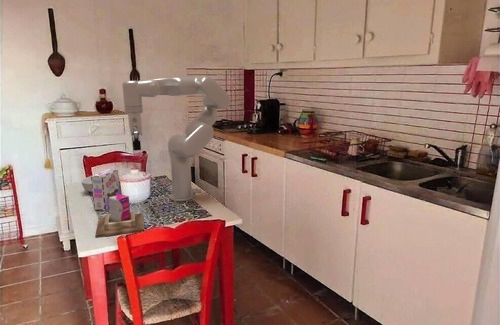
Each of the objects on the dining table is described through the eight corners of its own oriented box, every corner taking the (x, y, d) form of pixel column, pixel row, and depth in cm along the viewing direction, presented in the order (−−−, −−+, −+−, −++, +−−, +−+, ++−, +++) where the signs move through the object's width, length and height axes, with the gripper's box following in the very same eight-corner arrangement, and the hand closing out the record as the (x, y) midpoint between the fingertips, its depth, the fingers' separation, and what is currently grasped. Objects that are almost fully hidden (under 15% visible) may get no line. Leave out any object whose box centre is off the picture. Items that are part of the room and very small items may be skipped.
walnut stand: (142, 215, 163) (142, 207, 163) (144, 231, 147) (143, 223, 146) (98, 220, 158) (97, 212, 157) (95, 237, 141) (94, 229, 141)
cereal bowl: (100, 185, 208) (98, 172, 206) (123, 188, 202) (122, 175, 200) (75, 194, 193) (74, 181, 191) (100, 197, 186) (99, 184, 185)
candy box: (105, 211, 168) (101, 176, 165) (93, 210, 170) (89, 175, 166) (121, 201, 182) (118, 168, 178) (110, 200, 183) (107, 168, 179)
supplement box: (119, 227, 148) (117, 200, 146) (110, 223, 152) (107, 197, 149) (131, 222, 153) (129, 195, 150) (122, 219, 156) (119, 193, 154)
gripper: (143, 111, 155) (146, 151, 159) (141, 107, 171) (144, 144, 175) (124, 111, 153) (128, 152, 157) (124, 108, 169) (128, 145, 173)
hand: (136, 148), depth 166 cm, fingers open, 9 cm apart
